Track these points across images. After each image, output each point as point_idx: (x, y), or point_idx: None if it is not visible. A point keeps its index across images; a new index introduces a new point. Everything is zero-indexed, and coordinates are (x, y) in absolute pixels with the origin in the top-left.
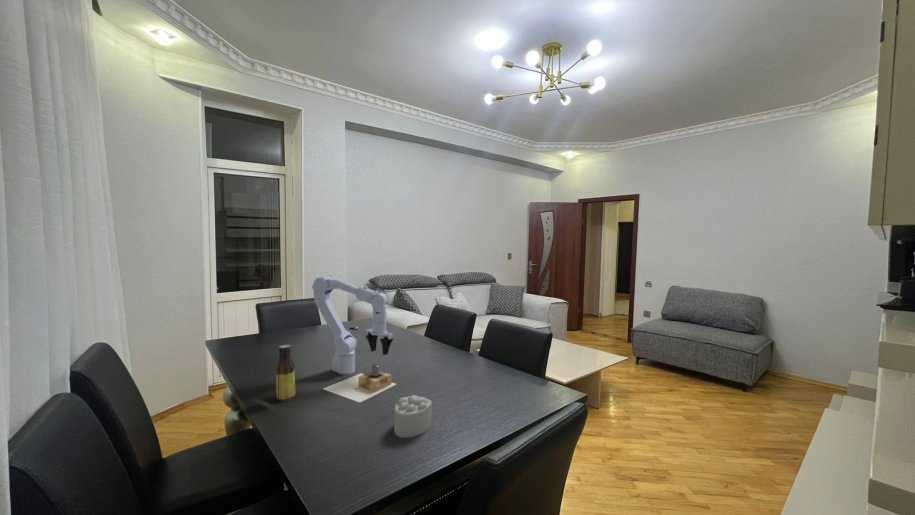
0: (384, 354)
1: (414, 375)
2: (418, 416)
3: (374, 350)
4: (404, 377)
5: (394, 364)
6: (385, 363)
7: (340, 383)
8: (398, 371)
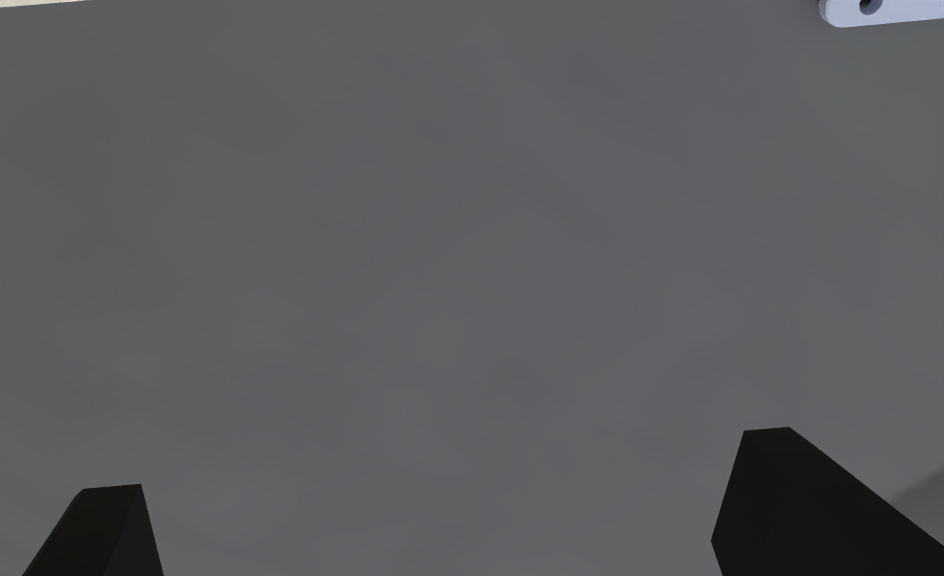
0: (66, 510)
1: (6, 518)
2: None
3: (727, 513)
4: (31, 392)
5: (564, 554)
6: (693, 506)
7: None
8: (318, 463)
